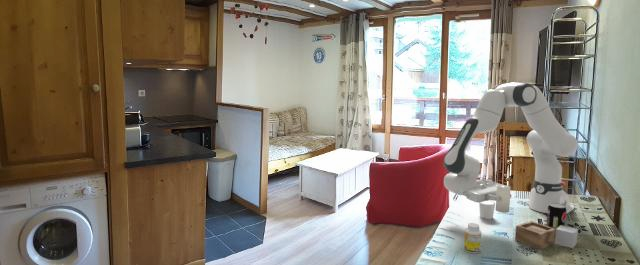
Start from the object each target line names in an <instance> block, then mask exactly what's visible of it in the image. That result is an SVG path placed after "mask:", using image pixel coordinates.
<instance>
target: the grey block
mask: <svg viewBox="0 0 640 265" xmlns="http://www.w3.org/2000/svg"><path fill="white" fill-rule="evenodd" d="M578 233H579V228H575V227H571V226H566V225H565V226H562V225H560V226H559V227H558V228H557V229H556V236H555V244H554V245H559V246H563V247H566V248H569V249H570V248H571V249H574V247H575V246H576V245H577V244H578V235H579V234H578Z"/></svg>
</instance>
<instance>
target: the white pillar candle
mask: <svg viewBox="0 0 640 265" xmlns="http://www.w3.org/2000/svg"><path fill="white" fill-rule="evenodd" d="M511 188H512V187H511V186H509V185H507V184H502V185H497V194H496V196H500V197H501V201H495V211H496V212H498V213H503V214H504V213H509V212H510V206H511V205H510V203H511V198H510V194H511V190H512V189H511Z"/></svg>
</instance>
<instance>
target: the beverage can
mask: <svg viewBox="0 0 640 265" xmlns="http://www.w3.org/2000/svg"><path fill="white" fill-rule="evenodd" d="M566 211H567V210H566V206H565V205H562V204H558V203H550V204H549V206H548V213H546V214H547V216H546V224H545V226H548V227H551V228H554V229H557V228H558V227H559V226H560V225H562V226H566V220H567V214H566Z"/></svg>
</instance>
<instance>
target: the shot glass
mask: <svg viewBox="0 0 640 265" xmlns="http://www.w3.org/2000/svg"><path fill="white" fill-rule="evenodd" d="M495 209H496V202H494V201H493V200H488V201H484V202H480V203H479V217H480V218H482V219H484V220H485V219H486V220H490V219H491V220H492V219H493V218H494V213H495Z"/></svg>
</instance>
